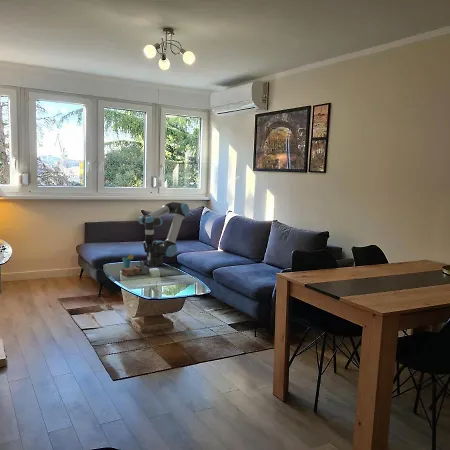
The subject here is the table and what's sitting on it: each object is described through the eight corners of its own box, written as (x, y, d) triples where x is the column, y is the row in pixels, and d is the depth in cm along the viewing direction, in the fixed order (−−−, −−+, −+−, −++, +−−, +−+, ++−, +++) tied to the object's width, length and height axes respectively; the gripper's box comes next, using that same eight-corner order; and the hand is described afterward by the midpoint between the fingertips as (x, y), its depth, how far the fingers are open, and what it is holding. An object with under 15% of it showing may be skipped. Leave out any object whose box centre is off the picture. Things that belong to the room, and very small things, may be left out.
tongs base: (146, 271, 397) (146, 265, 396) (149, 272, 393) (149, 267, 392) (121, 274, 382) (121, 268, 382) (124, 275, 378) (124, 269, 377)
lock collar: (141, 270, 396) (142, 260, 395) (147, 273, 388) (148, 262, 387) (135, 271, 392) (136, 260, 391) (141, 274, 384) (141, 263, 383)
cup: (118, 271, 392) (118, 254, 390) (116, 269, 399) (117, 252, 397) (134, 270, 398) (134, 254, 396) (131, 268, 405) (132, 252, 403)
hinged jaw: (142, 272, 390) (142, 267, 389) (144, 273, 387) (144, 268, 387) (123, 275, 379) (124, 269, 378) (125, 275, 376) (125, 270, 376)
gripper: (153, 232, 397) (153, 258, 401) (140, 233, 389) (140, 259, 392) (158, 234, 391) (157, 260, 395) (144, 235, 383) (144, 261, 387)
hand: (148, 260), depth 394 cm, fingers closed
